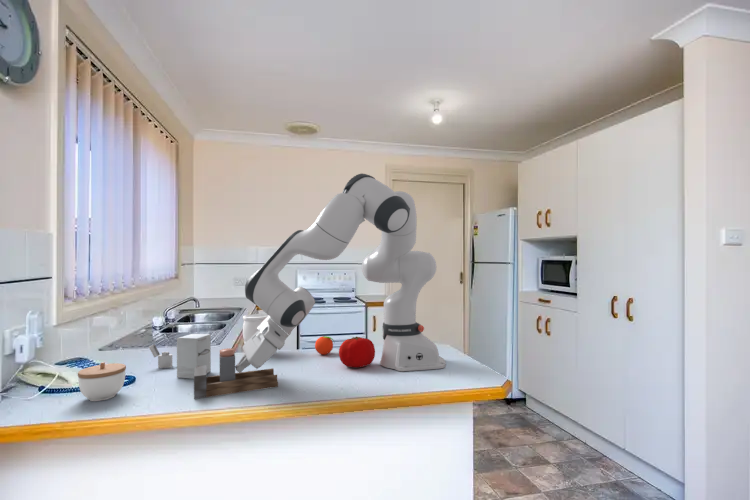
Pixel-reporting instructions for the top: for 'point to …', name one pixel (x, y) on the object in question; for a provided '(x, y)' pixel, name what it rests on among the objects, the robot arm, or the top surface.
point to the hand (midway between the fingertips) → (237, 370)
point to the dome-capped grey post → (227, 364)
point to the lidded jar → (101, 381)
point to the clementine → (324, 345)
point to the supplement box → (193, 354)
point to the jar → (251, 325)
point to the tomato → (357, 352)
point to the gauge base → (232, 382)
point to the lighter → (162, 357)
